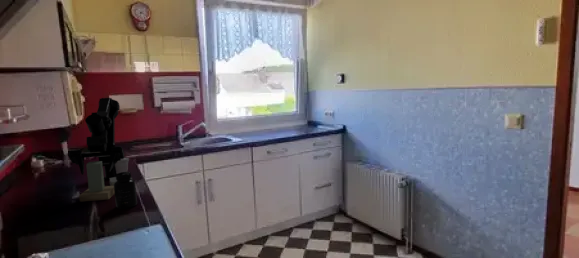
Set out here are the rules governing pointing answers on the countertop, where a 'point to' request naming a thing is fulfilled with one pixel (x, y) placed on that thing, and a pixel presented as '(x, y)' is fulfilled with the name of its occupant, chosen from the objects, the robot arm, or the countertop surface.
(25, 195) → the countertop surface
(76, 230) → the countertop surface
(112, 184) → the grey tile block
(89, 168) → the sage block
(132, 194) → the supplement bottle
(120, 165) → the smoothie
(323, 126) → the countertop surface
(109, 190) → the oak block
